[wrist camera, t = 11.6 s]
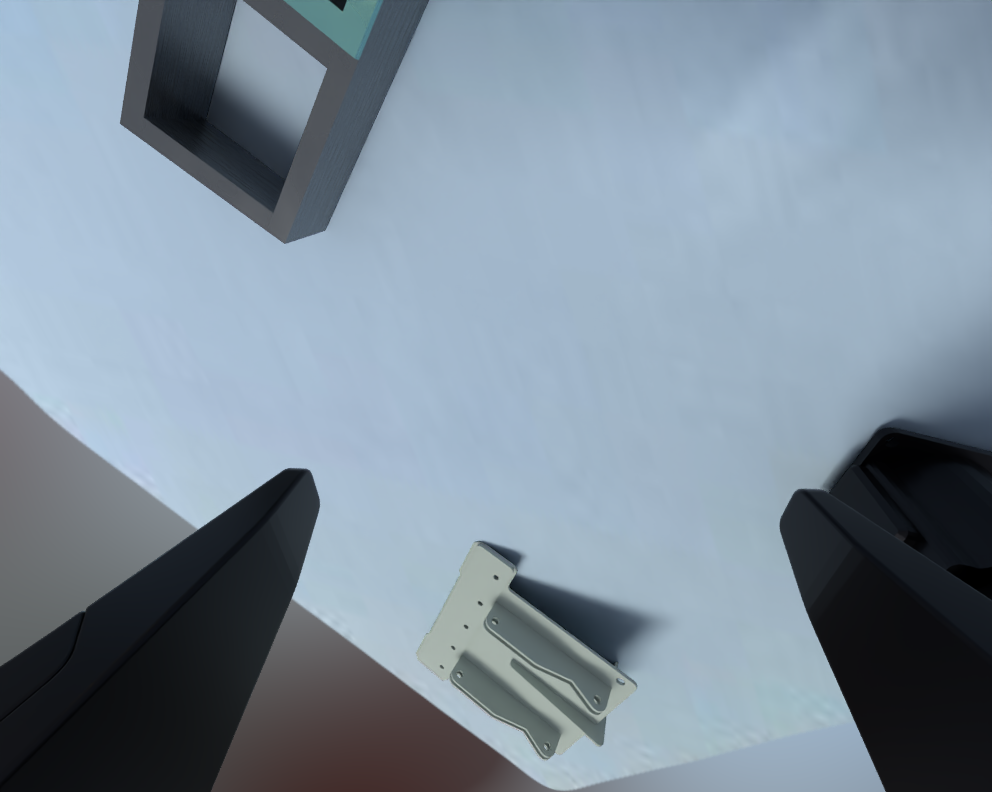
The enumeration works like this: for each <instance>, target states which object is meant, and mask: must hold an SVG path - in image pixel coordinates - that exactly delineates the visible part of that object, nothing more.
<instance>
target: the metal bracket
mask: <svg viewBox="0 0 992 792" xmlns="http://www.w3.org/2000/svg"><path fill="white" fill-rule="evenodd" d="M459 571H460V576H459V578H458V579H457V581H456V583H455V585H454V587H453V589H452V591H451V593H450V594H449V596H448V598H447V600H446V602H445V604H444V606H443V608H442V610H441V611H440V613H439V615H438V617H437V619H436V621H435V623H434V625H433V627H432V628H431V630H430V632H429V633H428V634H426V635H425V637H424V639H423V641H422V643H421V644H420V646H419V648H418V650H417V652H416V655H417V659H418V661H419V662H420V663H422V664H423V665H424V666H425V667H426V668H428V669H429V670H430V671H431V672H432V673H434V674H435V675H436V676H437V677H438V678H439V679H441V680H442V681H444V680H448V679H449V680H450V683H451V684H452V685H453V686H454V687H455V688H456V689H457V690H458V691H460V692H461V693H462V694H463V695H464V696H466V697H467V698H468V699H469V700H470V701H472V702H473V703H474V704H475V705H476V706H478V707H479V708H480V709H481V710H482V711H484V712H485V713H486V714H487V715H488V716H490V717H491V718H493V719H495V720H497V721H499V722H501V723H503V724H506V725H508V726H510V727H512V728H514V729H516V730H518V731H521V732H523V734H524V735H525V737H526V738H527V740H528V742H529V743H530V745H531V746H532V748H533V749H534V751H535V752H536V754H537V756H538V757H539V758H540V759H542V760H548V759H549V758H551V757H552V756H553V755H554V753H556V754H558V755H561V754H563V753H564V752H565V751H566V750H567V749H568V748H570V747H571V746H572V745H573V744H574V743H575V742H577V741H578V740H579V739H580V738H581V737H582V736H584V735H585V736H586V737H587V738H589V739H590V740H591V741H592V742H593V743H594V744H595V745H596V746H598V747H600V746H602V745H603V743H604V734H605V724H606V716H607V715H608V714H609V713H610V712H611V711H613V710H614V709H615V708H616V707H617V706H618V705H620V704H621V703H622V702H623V701H624V700H625V699H627V698H628V697H629V696H630V695H631V694H632V693H634V692H635V691H636V689H637V684H636V682H635V681H634V680H632V679H631V678H629V677H628V676H627V675H625V674H624V673H623V672H621V671H620V670H619V669H617V666H618V662H615V663H614V664H613V665H612V664H611V663H609V662H608V661H607V660H605V659H604V658H603V657H601V656H600V655H599V654H597V653H596V652H595V651H593V650H592V649H591V648H589V647H588V646H586V645H585V644H584V643H582V642H581V641H580V640H578V639H577V638H576V637H574V636H573V635H572V634H570V633H569V632H568V631H566V630H565V629H564V628H562V627H561V626H560V625H558V624H557V623H556V622H554V621H553V620H552V619H550V618H549V617H548V616H546V615H545V614H543V613H542V612H541V611H539V610H538V609H537V608H535V607H534V606H533V605H531V604H530V603H529V602H527V601H526V600H525V599H523V598H522V597H521V596H519V595H518V594H517V593H515V592H514V591H513V590H512V589H511V588H510V586H509V585H510V582H511V581H512V579H513V578H514V576H515V575H516V573H517V571H518V570H517V567H516V566H515V565H514V564H512V563H511V562H509V561H508V560H507V559H505V558H504V557H503V556H501V555H500V554H498V553H497V552H496V551H494V550H493V549H492V548H490V547H489V546H487V545H486V544H485V543H482V542H479V541H477V542H475V543H473V545H472V547H471V548H470V550H469V552H468V554H467V556H466V558H465V560H464V562H463V564H462V566H461V568H460V570H459ZM495 575H496V576H498V578H497V577H496V576H495ZM481 602H482V603H481ZM457 675H459V676H460V678H459V677H458V676H457ZM617 678H620V679H622V680H623V681H624V683H622V682H619V681H618V680H617ZM544 746H545V747H546V749H547V750H546V749H545V748H544Z"/></svg>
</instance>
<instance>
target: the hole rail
mask: <svg viewBox="0 0 992 792" xmlns="http://www.w3.org/2000/svg"><path fill="white" fill-rule="evenodd" d="M243 1H245V2H246V3H247V4H248V5H250V6H251V7H252V8H253V9H255V10H256V11H257V12H258V13H259V14H261V15H262V16H263V17H264V18H266V19H267V20H268V21H269V22H271V23H272V24H273V25H274V26H276V27H277V28H278V29H279V30H281V31H282V32H283V33H284V34H285V35H287V36H288V37H289V38H290V39H292V40H293V41H294V42H295V43H297V44H298V45H299V46H300V47H302V48H303V49H304V50H305V51H307V52H308V53H309V54H310V55H311V56H313V57H314V58H315V59H316V60H318V61H319V62H320V63H321V64H323V65H324V66H325V67H326V68H327V71H326V74H325V76H324V79H323V82H322V84H321V87H320V90H319V92H318V95H317V98H316V101H315V103H314V106H313V109H312V111H311V114H310V117H309V119H308V122H307V125H306V127H305V130H304V133H303V135H302V138H301V141H300V143H299V146H298V149H297V151H296V154H295V157H294V159H293V162H292V165H291V167H290V170H289V173H288V176H287V178H286V181H285V180H284V179H283V178H281V177H280V176H279V175H277V174H276V173H275V172H273V171H272V170H271V169H269V168H268V167H267V166H265V165H264V164H263V163H261V162H260V161H259V160H257V159H256V158H255V157H253V156H252V155H251V154H249V153H248V152H247V151H245V150H244V149H243V148H241V147H240V146H239V145H237V144H236V143H235V142H233V141H232V140H231V139H229V138H228V137H227V136H225V135H224V134H223V133H222V132H220V131H219V130H218V129H216V128H215V127H214V126H212V125H211V124H210V123H208V122H207V121H206V117H207V113H208V109H209V105H210V101H211V97H212V93H213V89H214V85H215V81H216V78H217V74H218V70H219V66H220V62H221V58H222V54H223V50H224V46H225V42H226V38H227V34H228V30H229V26H230V22H231V19H232V15H233V11H234V7H235V3H236V0H139V4H138V10H137V17H136V23H135V30H134V36H133V43H132V49H131V56H130V62H129V69H128V75H127V81H126V88H125V94H124V101H123V107H122V114H121V120H120V124H121V125H122V126H124V127H125V128H127V129H128V130H129V131H131V132H132V133H133V134H135V135H136V136H138V137H139V138H140V139H142V140H143V141H144V142H146V143H147V144H149V145H150V146H151V147H153V148H154V149H155V150H157V151H158V152H159V153H161V154H162V155H164V156H165V157H166V158H168V159H169V160H170V161H172V162H173V163H175V164H176V165H177V166H179V167H180V168H181V169H183V170H184V171H185V172H187V173H188V174H190V175H191V176H192V177H194V178H195V179H196V180H198V181H199V182H201V183H202V184H203V185H205V186H206V187H207V188H209V189H210V190H212V191H213V192H214V193H216V194H217V195H218V196H220V197H221V198H222V199H224V200H225V201H227V202H228V203H229V204H231V205H232V206H233V207H235V208H236V209H238V210H239V211H240V212H242V213H243V214H244V215H246V216H247V217H248V218H250V219H251V220H253V221H254V222H255V223H257V224H258V225H259V226H261V227H262V228H264V229H265V230H266V231H268V232H269V233H270V234H272V235H273V236H275V237H276V238H277V239H279V240H280V241H281V242H283V243H284V244H286V243H289V242H292V241H295V240H298V239H301V238H304V237H307V236H310V235H313V234H317V233H320V232H323V231H325V229H326V227H327V225H328V223H329V220H330V218H331V216H332V214H333V212H334V209H335V207H336V205H337V203H338V200H339V198H340V196H341V194H342V192H343V189H344V187H345V185H346V183H347V180H348V178H349V176H350V174H351V172H352V169H353V167H354V165H355V163H356V160H357V158H358V156H359V154H360V152H361V149H362V147H363V145H364V143H365V140H366V138H367V136H368V134H369V132H370V129H371V127H372V125H373V123H374V121H375V118H376V116H377V114H378V112H379V109H380V107H381V105H382V103H383V101H384V98H385V96H386V94H387V92H388V89H389V87H390V85H391V83H392V81H393V78H394V76H395V74H396V72H397V69H398V67H399V65H400V63H401V61H402V58H403V56H404V54H405V52H406V50H407V47H408V45H409V43H410V41H411V38H412V36H413V34H414V32H415V30H416V27H417V25H418V23H419V21H420V18H421V16H422V14H423V12H424V10H425V7H426V5H427V3H428V1H429V0H243Z"/></svg>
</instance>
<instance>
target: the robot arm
mask: <svg viewBox="0 0 992 792" xmlns="http://www.w3.org/2000/svg"><path fill="white" fill-rule="evenodd" d="M893 437H894V439H893V440H891V441H889V442H886V441H887V440H888V439H889V438H893ZM319 508H320V499H319V495H318V492H317V489H316V486H315V482H314V479H313V476H312V473H311V472H310V471H309V470H308V469H302V468H288V469H285V470H283V471H282V472H280V473H279V474H277V475H276V476H275V477H273V478H272V479H270V480H269V481H267V482H266V483H265V484H263V485H262V486H260V487H259V488H257V489H256V490H254V491H253V492H252V493H250V494H249V495H247V496H246V497H244V498H243V499H242V500H240V501H239V502H237V503H236V504H234V505H233V506H232V507H230V508H229V509H227V510H226V511H224V512H223V513H222V514H220V515H219V516H217V517H216V518H214V519H213V520H211V521H210V522H209V523H207V524H206V525H204V526H203V527H201V528H200V529H199V530H197V531H196V532H194V533H193V534H191V535H190V536H189V537H187V538H186V539H184V540H183V541H181V542H180V543H179V544H177V545H176V546H174V547H173V548H171V549H170V550H169V551H167V552H166V553H164V554H163V555H161V556H160V557H158V558H157V559H156V560H154V561H153V562H151V563H150V564H148V565H147V566H146V567H144V568H143V569H141V570H140V571H138V572H137V573H136V574H134V575H133V576H131V577H130V578H128V579H127V580H126V581H124V582H123V583H121V584H120V585H119V586H117V587H116V588H114V589H113V590H111V591H110V592H108V593H107V594H105V595H104V596H103V597H101V598H100V599H98V600H97V601H95V602H94V603H92V604H91V605H90V606H88V607H87V609H86V611H81V612H79V613H78V614H76V615H75V616H74V617H72V618H71V619H69V620H68V621H66V622H65V623H64V624H62V625H61V626H59V627H58V628H56V629H55V630H54V631H52V632H51V633H49V634H48V635H47V636H45V637H43V638H42V639H41V640H39V641H37V642H36V643H34V644H33V645H32V646H30V647H28V648H27V649H25V650H24V651H23V652H21V653H20V654H18V655H17V656H15V657H14V658H13V659H11V660H9V661H8V662H6V663H5V664H3V665H2V666H0V792H211V790H212V787H213V785H214V783H215V780H216V778H217V776H218V773H219V771H220V768H221V766H222V764H223V761H224V759H225V756H226V754H227V751H228V749H229V747H230V744H231V742H232V740H233V737H234V735H235V732H236V730H237V728H238V725H239V723H240V721H241V718H242V716H243V713H244V711H245V709H246V706H247V704H248V701H249V699H250V697H251V694H252V692H253V689H254V687H255V684H256V682H257V679H258V677H259V675H260V673H261V670H262V668H263V665H264V663H265V661H266V658H267V656H268V654H269V651H270V649H271V646H272V644H273V641H274V639H275V637H276V634H277V632H278V629H279V627H280V625H281V622H282V620H283V618H284V615H285V613H286V610H287V608H288V606H289V603H290V601H291V598H292V596H293V593H294V591H295V588H296V586H297V583H298V579H299V576H300V573H301V570H302V567H303V563H304V560H305V556H306V553H307V550H308V546H309V543H310V540H311V536H312V533H313V529H314V526H315V523H316V519H317V516H318V513H319ZM780 532H781V535H782V538H783V542H784V545H785V548H786V551H787V554H788V557H789V560H790V563H791V566H792V569H793V572H794V576H795V579H796V582H797V585H798V588H799V591H800V594H801V597H802V600H803V603H804V606H805V608H806V611H807V614H808V616H809V619H810V621H811V623H812V626H813V628H814V630H815V633H816V635H817V637H818V639H819V642H820V644H821V646H822V648H823V651H824V653H825V655H826V658H827V660H828V662H829V664H830V667H831V669H832V671H833V673H834V676H835V678H836V680H837V682H838V685H839V687H840V689H841V691H842V694H843V696H844V698H845V701H846V703H847V705H848V707H849V710H850V712H851V714H852V716H853V719H854V721H855V723H856V725H857V728H858V730H859V732H860V734H861V737H862V739H863V741H864V743H865V745H866V748H867V750H868V753H869V755H870V757H871V759H872V761H873V764H874V766H875V768H876V771H877V773H878V775H879V777H880V780H881V782H882V784H883V786H884V789H885V791H886V792H992V452H989V451H985V450H981V449H977V448H973V447H969V446H965V445H961V444H957V443H953V442H949V441H945V440H941V439H937V438H933V437H929V436H925V435H921V434H917V433H913V432H909V431H905V430H901V429H897V428H891V427H889V428H884V429H882V430H880V431H878V432H877V433H876V434H875V435H874V437H873V438H872V439H871V441H870V442H869V443H868V444H867V446H866V447H865V448H864V450H863V451H862V452H861V453H860V455H859V456H858V457H857V459H856V460H855V461H854V463H853V464H852V465H851V466H850V468H849V469H848V470H847V471H846V473H845V474H844V475H843V476H842V478H841V479H840V480H839V482H838V483H837V484H836V486H835V487H834V488H833V489H832V491H831V492H830V493H828V492H826V491H824V490H820V489H798V490H797V491H795V492H794V494H793V495H792V497H791V499H790V501H789V503H788V505H787V507H786V509H785V511H784V513H783V515H782V516H781V519H780Z"/></svg>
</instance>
